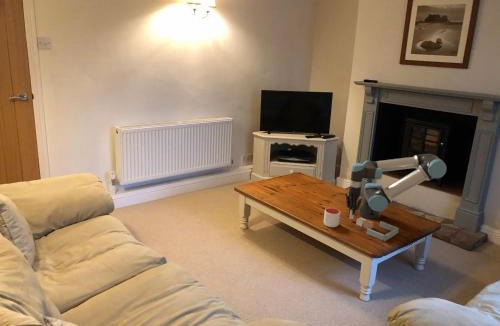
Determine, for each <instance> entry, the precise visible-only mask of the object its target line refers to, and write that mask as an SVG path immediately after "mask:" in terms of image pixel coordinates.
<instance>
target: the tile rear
mask: <svg viewBox="0 0 500 326" xmlns="http://www.w3.org/2000/svg"><path fill="white" fill-rule="evenodd" d="M365 221H367V218H364V217H359V218H356V223H355V225H356V226H359V227H361V228H363V226H364V222H365Z"/></svg>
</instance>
